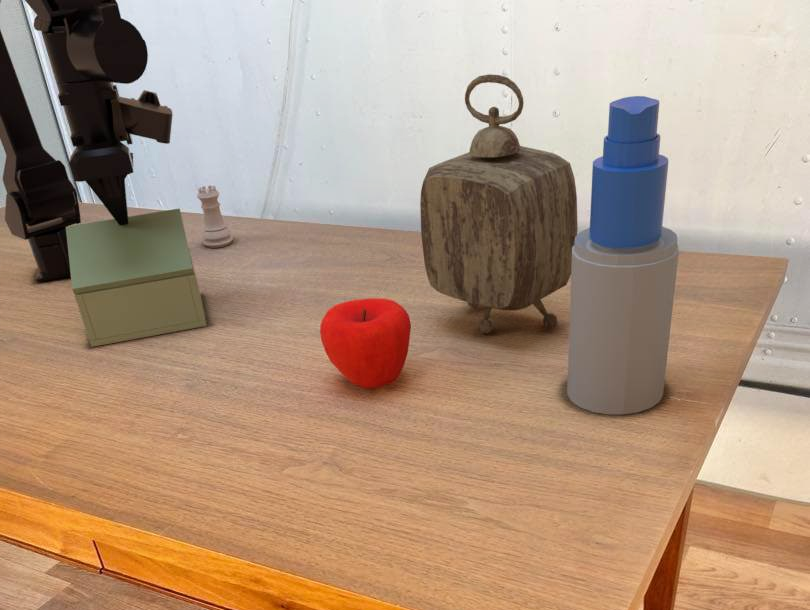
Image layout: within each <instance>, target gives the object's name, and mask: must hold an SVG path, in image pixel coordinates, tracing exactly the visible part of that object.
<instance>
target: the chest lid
mask: <svg viewBox="0 0 810 610" xmlns="http://www.w3.org/2000/svg"><path fill="white" fill-rule="evenodd" d="M66 234H67V244H68V253H69V263H70V272H71V276H70V280H71V290H72V292H73V294H74V295H75V294H79V293H85V292H90V291H96V290H102V289H108V288H113V287H119V286H125V285H131V284H137V283H142V282H148V281H154V280H160V279H165V278H171V277H177V276H183V275H188V274H194V271H193V266H194V265H193V266H192V262H193V260H192V261H191V258H192V256H191V257H190V254H191V251H190V252H189V250H190V247H189V244H188V238H187V234H186V231H185V225H184V222H183V218H182V213H181V209H180V208H174V209H167V210H162V211H155V212H148V213H143V214H137V215H129V216H128V224H127V225H119V224H118V223H117V222H116V220H115V219H114V218H111V219H105V220H100V221H99V220H98V221H93V222H86V223H79V224H73V225H70V226H67V227H66Z"/></svg>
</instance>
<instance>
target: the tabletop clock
mask: <svg viewBox="0 0 810 610" xmlns="http://www.w3.org/2000/svg"><path fill="white" fill-rule="evenodd" d="M487 83H492V84H500V85H503V86H505V87H507V88H509V89H510V90H511V91H512V92H513V93H514V94H515V96H516V98H517V100H518V107H517V110H515V111H514V112H513V113H511V114H508V115H505V116H501V115H500V109H499V108H498V107H497V106H491V107H490V108H489V109H488V114H483V113H482V112H480V111H478V110H476V109H475V108H474V107H473V106H472V104H471V102H470V101H471V100H470V97H471V93H472V92H473V90H474V89H475V88H476V87H477V86H479V85H481V84H487ZM464 103H465V106H466V109H467V110H468V112H469V113H470V115H471V116H472V117H473V118H475V119H476V120H478V121H480V122H482V123H484V124H488V126H487V127H484V128H482V129H481V128H480V129H479V130H478V131H477V132H476V134H475V135H474V136H473V138H472V139H471V143H470V147H469V151H468V152H466V153H463V154H460V155H458V156H455V157H453V158H449V159H447V160H444V161H442V162H439V163H437V164H435V165H433V166H430V167H428V170H427V171H426V174H425V177H424V178H423V180H422V185H421V190H420V198H419V200H420V201H419V207H420V208H419V210H420V235H421V245H422V252H423V253H422V254H423V261H424V262H423V263H424V268H425V272H426V277H427V279H428V282H429V283H428V284H429V285H430V287H431V288H433V290H435V291H436V292H438V293H440V294H442V295H444V296H446V297H450V298H452V299H455V300H460V301H462V302H465V303H467V305H468V307H470V308H471V309H477V308H479V307H483V312H484V313H483V319H481V320H479V322H478V324H477V329H478V331H479V333H481V334H483V335H488V334H489V333H491V332H492V330H493V328H494V325H493V322H492V321H491V320H490V316H491V311H492V309H495V310H502V311H508V312H509V311H510V312H514V311H520V310H523V309H527V308H528V307H530V306H532V305H533V306H534V307H535V308H536V309H537V310H538V312H539V313H540V314H541V315H542V316H543V318H542V325H543V326H544V327H546V328H547V329H553V328H555V327H556V326H557V325H558V322H559V321H558V316H557V315H556V314H555V313H552V312H548V310H547V308H546V307H545V305H544V304H543V302H542V300H543V299H544V298H546V297H548V296H550V295H552V294H553V293H555V292H557V291H558V290H561V289H562V288H564V287H565V286H567V285H568V282H569V280H570V279H571V265H572V247H573V246H574V245H575V237H576V236H577V235H578V229H579V228H578V194H577V185H576V180H575V174H574V171H573V169H572V165H571V163H570V162H569V161H567V160H566V159H565V158H563V157H562V156H560V155H559V154H556V153H553V152H550V151H546V150H542V149H537V148H532V147H528V146H522V145H521V144H520V141H519V138H518V137H517V135H516V133H515V132H514V131H513V130H512V129H511V128H510V127H506V126H503V125H506V124H510V123H511V122H515V121H516V120H517V119H518V118H519V117H520V115H522V112H523V109H524V96H523V94H522V91H521V89H520V87H519V86H518V85H517V84H516V82H514V81H513V80H512V79H510V78H509V77H507V76H503V75H500V74H484V75H479V76H477V77H475V78H474V79H472V80H471V81H470V82H469V84H468V85H467V88H466V91H465V93H464Z"/></svg>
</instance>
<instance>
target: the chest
mask: <svg viewBox="0 0 810 610" xmlns="http://www.w3.org/2000/svg"><path fill="white" fill-rule="evenodd" d="M189 252H190V257H191V261H192V266H193V271H194V274H188V275H183V276H177V277H171V278H165V279H160V280H154V281H148V282H142V283H137V284H131V285H125V286H119V287H113V288H108V289H102V290H96V291H90V292H85V293H79V294H74V298H75V302H76V304H77V308H78V310H79V313H80V316H81V319H82V323H83V325H84V328H85V331H86V334H87V337H88V341H89V343H90V347H92V348H93V347H100V346H104V345H110V344H115V343H120V342H126V341H131V340H137V339H142V338H143V339H144V338H148V337H153V336H159V335H164V334H170V333H177V332H181V331H185V330H191V329H197V328H204V327H207V321H206V315H205V311H204V310H205V309H204V306H203V300H202V296H201V291H200V287H199V284H198V283H199V282H198V279H197V275H196V270H195V267H194V263H193V262H194V261H193V258H192V254H191V249H189Z"/></svg>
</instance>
